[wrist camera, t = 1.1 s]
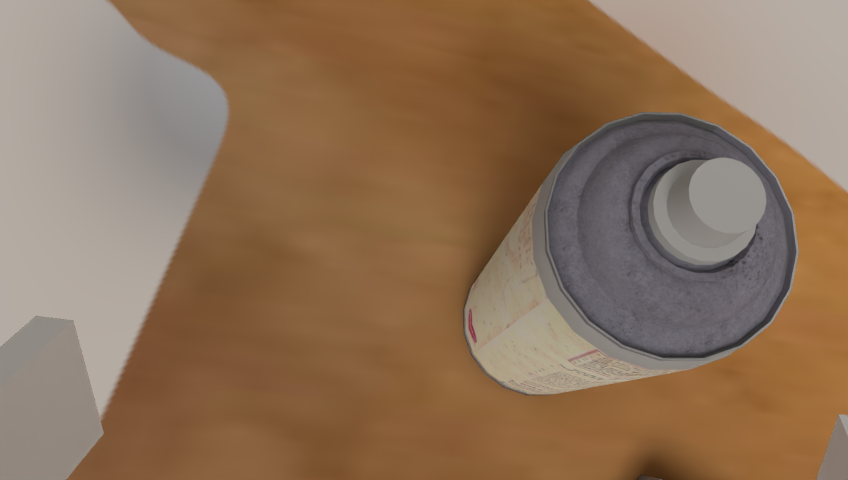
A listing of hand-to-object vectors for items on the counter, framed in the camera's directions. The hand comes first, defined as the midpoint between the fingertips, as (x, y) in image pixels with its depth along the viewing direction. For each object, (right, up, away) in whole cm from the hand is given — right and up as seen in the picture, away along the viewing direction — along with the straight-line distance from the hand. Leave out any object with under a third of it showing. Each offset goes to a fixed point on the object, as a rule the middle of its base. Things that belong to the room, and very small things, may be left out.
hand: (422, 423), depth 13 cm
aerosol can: (+5, -1, +22) cm, 23 cm away
